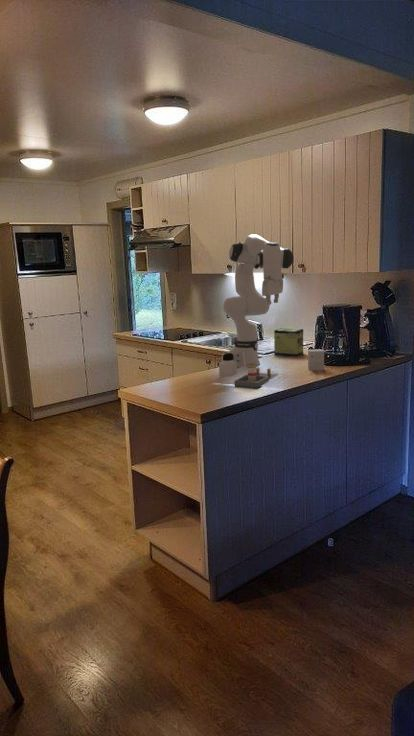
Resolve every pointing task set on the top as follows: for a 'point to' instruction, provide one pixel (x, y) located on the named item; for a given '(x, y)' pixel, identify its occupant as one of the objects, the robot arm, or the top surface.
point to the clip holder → (266, 373)
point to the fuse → (251, 372)
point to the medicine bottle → (227, 365)
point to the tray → (244, 382)
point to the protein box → (288, 342)
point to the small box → (316, 359)
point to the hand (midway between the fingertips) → (272, 303)
